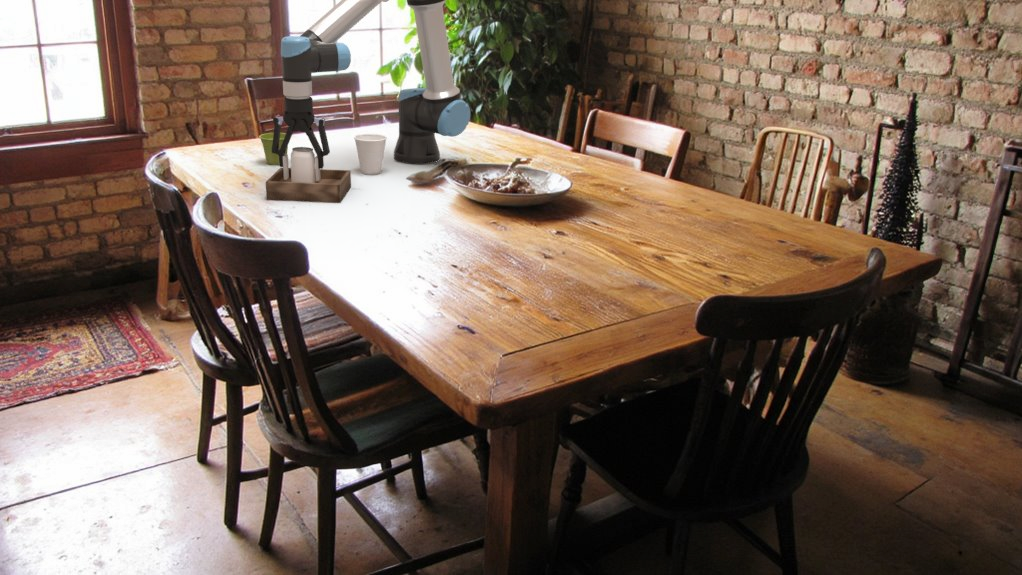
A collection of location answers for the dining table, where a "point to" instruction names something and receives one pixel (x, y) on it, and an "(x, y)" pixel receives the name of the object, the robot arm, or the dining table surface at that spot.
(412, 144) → the robot arm
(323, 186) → the walled box
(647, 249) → the dining table surface
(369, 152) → the cup
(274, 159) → the plant pot
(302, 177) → the can
